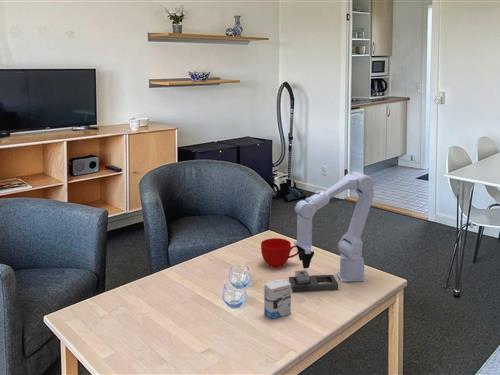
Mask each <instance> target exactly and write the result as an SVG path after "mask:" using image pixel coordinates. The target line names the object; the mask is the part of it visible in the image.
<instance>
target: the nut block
mask: <svg viewBox="0 0 500 375" xmlns="http://www.w3.org/2000/svg"><path fill="white" fill-rule="evenodd" d="M309 276H310V274H309V273H308V271H307V270H306V269H303V270H302V269H301V270H295V272H294V277H295V284H296V285H304V284H309Z"/></svg>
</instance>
